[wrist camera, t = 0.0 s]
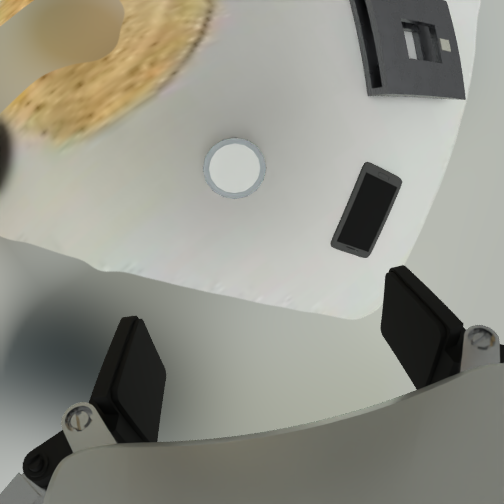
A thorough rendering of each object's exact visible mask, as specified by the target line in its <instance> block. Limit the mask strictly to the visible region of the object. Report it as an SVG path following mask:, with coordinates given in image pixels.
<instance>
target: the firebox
mask: <svg viewBox="0 0 504 504" xmlns="http://www.w3.org/2000/svg"><path fill="white" fill-rule="evenodd" d="M350 4H351V8H352V12H353V16H354V20H355V25H356V29H357V34H358V39H359V44H360V49H361V55H362V60H363V66H364V72H365V78H366V85H367V92H368V96H403V97H423V98H436V99H461V100H466V99H465V90H464V82H463V75H462V68H461V62H460V56H459V51H458V46H457V41H456V36H455V32H454V28H453V24H452V20H451V16H450V12H449V8H448V5H447V2H446V1H444V0H350ZM404 31H408V32H412V34H413V39H414V44H415V49H416V54H417V60H416V59H409V56H408V50H407V45H406V40H405V36H404Z"/></svg>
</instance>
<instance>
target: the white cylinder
mask: <svg viewBox="0 0 504 504" xmlns="http://www.w3.org/2000/svg"><path fill="white" fill-rule="evenodd" d="M265 171H266V165H265V159H264V156H263V154H262V153H261V151H260V150H259V148H258V147H257V146H256V145H254V144H253V143H251V142H250V141H248V140H245V139H240V138H230V139H225V140H222V141H220V142H219V143H217V144H216V145H214V146H213V147H212V148H211V149H210V151H209V152H208V154H207V155H206V157H205V161H204V167H203V172H204V176H205V180H206V182H207V184H208V185H209V186H210V188H211V189H212V190H213V191H214V192H216V193H217V194H219V195H221V196H222V197H226V198H232V199H237V198H242V197H246V196H248V195H250V194H251V193H253V192H254V191H256V190H257V189H258V187H259V186H260V184H261V183H262V182H263V180H264V176H265Z"/></svg>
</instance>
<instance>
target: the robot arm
mask: <svg viewBox="0 0 504 504" xmlns="http://www.w3.org/2000/svg"><path fill="white" fill-rule="evenodd" d="M381 333H382V335H383V337H384V338H385V340H386V341H387V343H388V344H389V346H390V347H391V349H392V351H393V352H394V354H395V355H396V357H397V358H398V360H399V361H400V363H401V365H402V366H403V368H404V369H405V371H406V373H407V374H408V376H409V377H410V379H411V381H412V382H413V384H414V386H415V387H416V389H417V390H416V391H413V392H410V393H408V394H405V395H402V396H399V397H397V398H394V399H391V400H388V401H386V402H382V403H380V404H377V405H373V406H370V407H367V408H364V409H360V410H357V411H353V412H350V413H346V414H343V415H339V416H335V417H332V418H328V419H324V420H320V421H316V422H311V423H307V424H302V425H298V426H293V427H288V428H283V429H277V430H272V431H267V432H260V433H254V434H247V435H240V436H232V437H223V438H214V439H203V440H189V441H175V442H174V441H173V442H157V438H158V431H159V423H160V415H161V408H162V401H163V394H164V387H165V381H166V371H165V368H164V365H163V363H162V361H161V359H160V357H159V355H158V353H157V351H156V348H155V346H154V344H153V342H152V339H151V337H150V335H149V333H148V330H147V328H146V326H145V323H144V321H143V320H142V319H139V318H138V317H137V316H130V317H123V318H122V319H121V320H120V323H119V325H118V328H117V330H116V332H115V335H114V337H113V340H112V342H111V345H110V347H109V350H108V353H107V355H106V357H105V359H104V362H103V365H102V367H101V370H100V373H99V375H98V378H97V381H96V384H95V386H94V389H93V392H92V395H91V398H90V401H89V403H84V402H82V403H77V404H75V405H72V406H71V407H70V408H68V409H67V410H66V412H65V413H64V415H63V417H62V421H61V425H62V429H63V430H62V431H61V432H59V433H58V434H56V435H55V436H53V437H52V438H50V439H49V440H47V441H46V442H44V443H43V444H41V445H40V446H38V447H36V448H35V449H33V450H32V451H31V452H29V453H28V454H27V456H26V457H25V459H24V462H23V472H24V473H23V474H22V475H21V474H20V473H18V474H17V475H16V477H15V478H14V479H13V480H12V481H11V482H10V483H9V485H8V486H7V487H6V488H5V489H4V490H3V491H2V493H1V494H0V504H504V345H501V344H500V343H499V337H498V335H497V334H496V333H495V332H494V331H493V330H492V329H490V328H489V327H486V326H483V325H475V326H471V327H469V328H468V329H467V330H465V328H464V327H463V323H462V322H461V321H460V320H459V319H458V318H457V317H456V316H455V314H454V313H453V312H452V311H451V310H450V309H448V307H447V306H446V305H445V304H444V303H443V302H442V301H441V300H440V299H439V298H438V297H437V296H436V295H435V294H434V293H433V292H432V291H431V290H430V289H429V288H428V287H427V286H426V285H425V284H424V283H422V282H421V281H420V280H419V279H418V278H417V277H416V276H415V275H414V274H413V273H412V272H411V271H410V270H409V269H408V268H407V267H405V266H404V265H402V266H398V267H394V268H391V269H390V270H389V273H386V276H385V289H384V300H383V311H382V320H381Z"/></svg>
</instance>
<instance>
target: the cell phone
mask: <svg viewBox="0 0 504 504" xmlns="http://www.w3.org/2000/svg"><path fill="white" fill-rule="evenodd" d="M401 184H402V180H401V179H400V178H399V177H398V176H396V175H394V174H392V173H390V172H388V171H386V170H384V169H382V168H380V167H378V166H376V165H374V164H372V163H369V162H366V163H364V165H363V167H362V169H361V172H360V174H359V177H358V179H357V181H356V184H355V186H354V189H353V191H352V194H351V196H350V198H349V201H348V203H347V206H346V208H345V210H344V213H343V215H342V217H341V220H340V222H339V224H338V226H337V229H336V231H335V233H334V236H333V238H332V241H331V246H332V247H333V248H336V249H338V250H341V251H344V252H347V253H350V254H354V255H357V256H360V257H363V258H367V257H368V256H369V255H370V254H371V252H372V250H373V248H374V246H375V244H376V241H377V239H378V237H379V235H380V233H381V231H382V229H383V226H384V224H385V222H386V220H387V218H388V215H389V213H390V211H391V208H392V206H393V204H394V201H395V199H396V197H397V194H398V192H399V190H400V187H401Z"/></svg>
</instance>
